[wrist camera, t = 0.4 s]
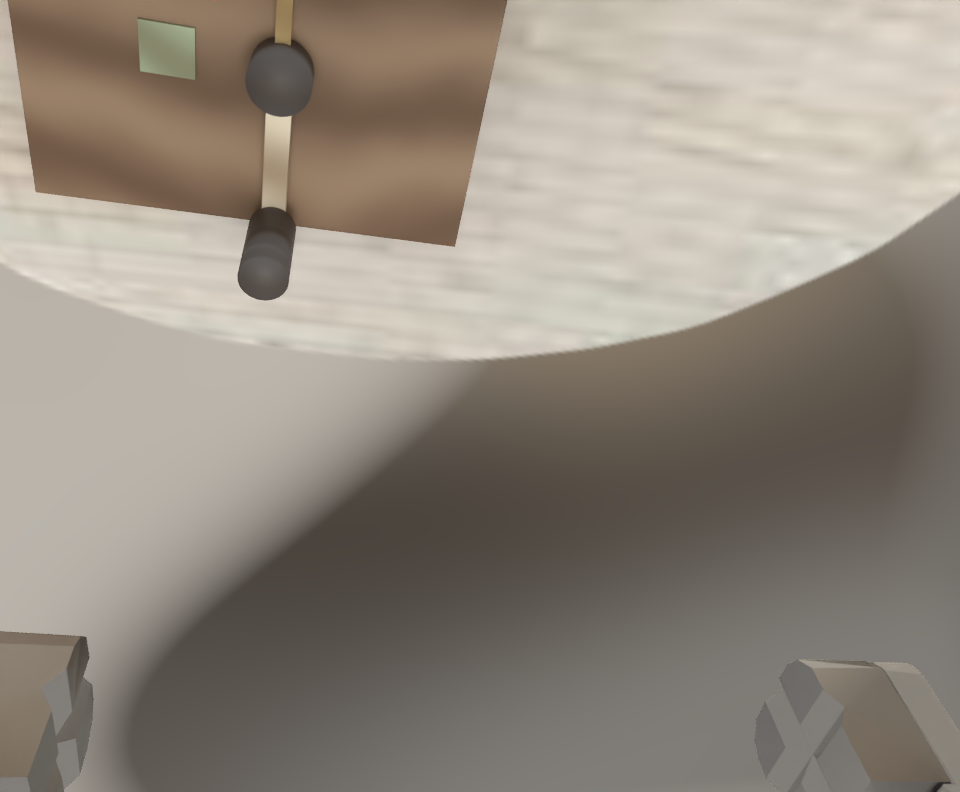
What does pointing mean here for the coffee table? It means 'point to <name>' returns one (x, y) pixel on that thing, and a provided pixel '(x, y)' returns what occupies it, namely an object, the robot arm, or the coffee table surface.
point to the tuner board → (241, 124)
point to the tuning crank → (275, 155)
